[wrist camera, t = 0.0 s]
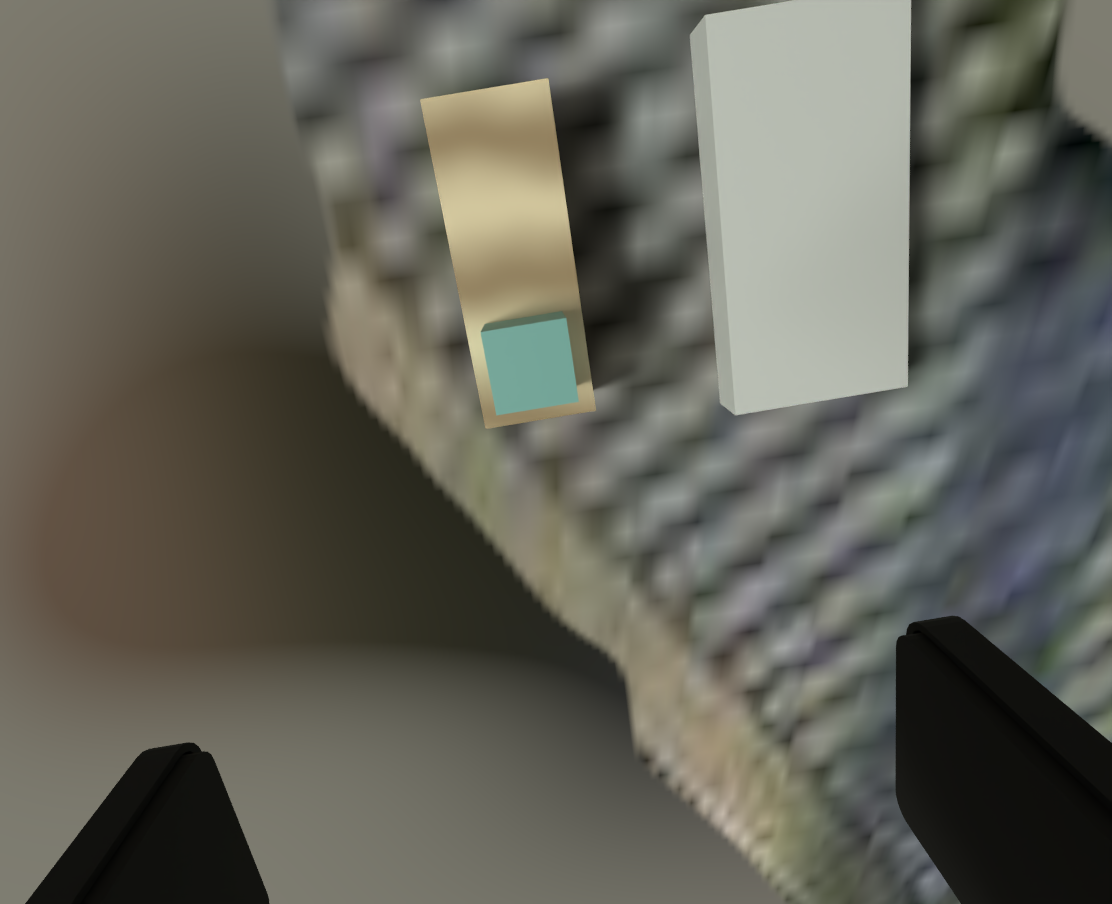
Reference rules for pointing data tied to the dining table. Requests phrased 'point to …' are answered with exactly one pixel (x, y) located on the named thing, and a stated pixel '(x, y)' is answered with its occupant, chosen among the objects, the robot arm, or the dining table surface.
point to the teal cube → (529, 362)
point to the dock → (806, 197)
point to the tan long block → (507, 222)
